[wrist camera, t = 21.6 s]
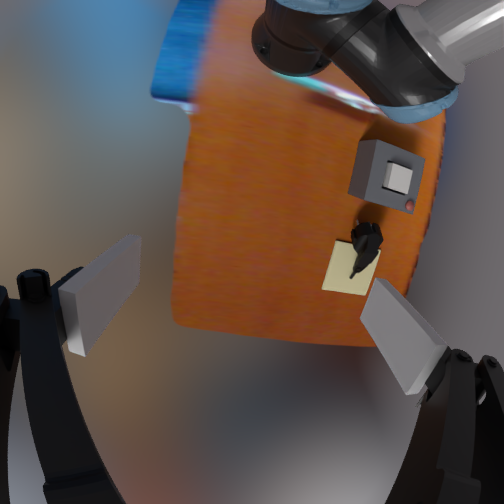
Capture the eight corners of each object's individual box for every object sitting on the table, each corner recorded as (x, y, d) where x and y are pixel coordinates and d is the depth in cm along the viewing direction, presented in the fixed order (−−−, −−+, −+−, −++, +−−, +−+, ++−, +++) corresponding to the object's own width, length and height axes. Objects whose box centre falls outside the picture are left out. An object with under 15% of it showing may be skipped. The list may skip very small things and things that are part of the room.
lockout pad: (335, 240, 50) (336, 240, 50) (380, 249, 51) (381, 250, 51) (321, 288, 53) (321, 289, 53) (364, 294, 54) (365, 295, 54)
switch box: (359, 141, 44) (378, 139, 36) (403, 157, 45) (427, 159, 37) (347, 193, 47) (365, 200, 40) (392, 206, 48) (414, 215, 40)
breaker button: (381, 162, 41) (393, 163, 37) (400, 168, 41) (412, 170, 37) (376, 184, 42) (387, 187, 38) (395, 190, 42) (407, 194, 39)
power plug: (338, 280, 51) (362, 243, 42) (333, 248, 56) (354, 208, 46) (364, 282, 52) (391, 246, 42) (358, 250, 56) (381, 212, 46)
